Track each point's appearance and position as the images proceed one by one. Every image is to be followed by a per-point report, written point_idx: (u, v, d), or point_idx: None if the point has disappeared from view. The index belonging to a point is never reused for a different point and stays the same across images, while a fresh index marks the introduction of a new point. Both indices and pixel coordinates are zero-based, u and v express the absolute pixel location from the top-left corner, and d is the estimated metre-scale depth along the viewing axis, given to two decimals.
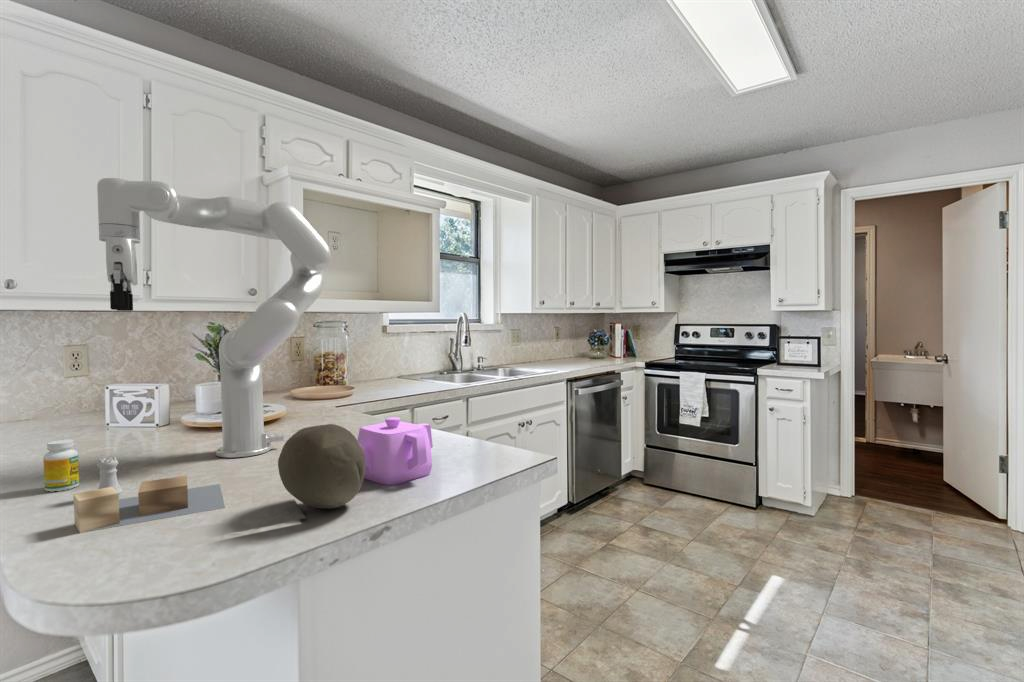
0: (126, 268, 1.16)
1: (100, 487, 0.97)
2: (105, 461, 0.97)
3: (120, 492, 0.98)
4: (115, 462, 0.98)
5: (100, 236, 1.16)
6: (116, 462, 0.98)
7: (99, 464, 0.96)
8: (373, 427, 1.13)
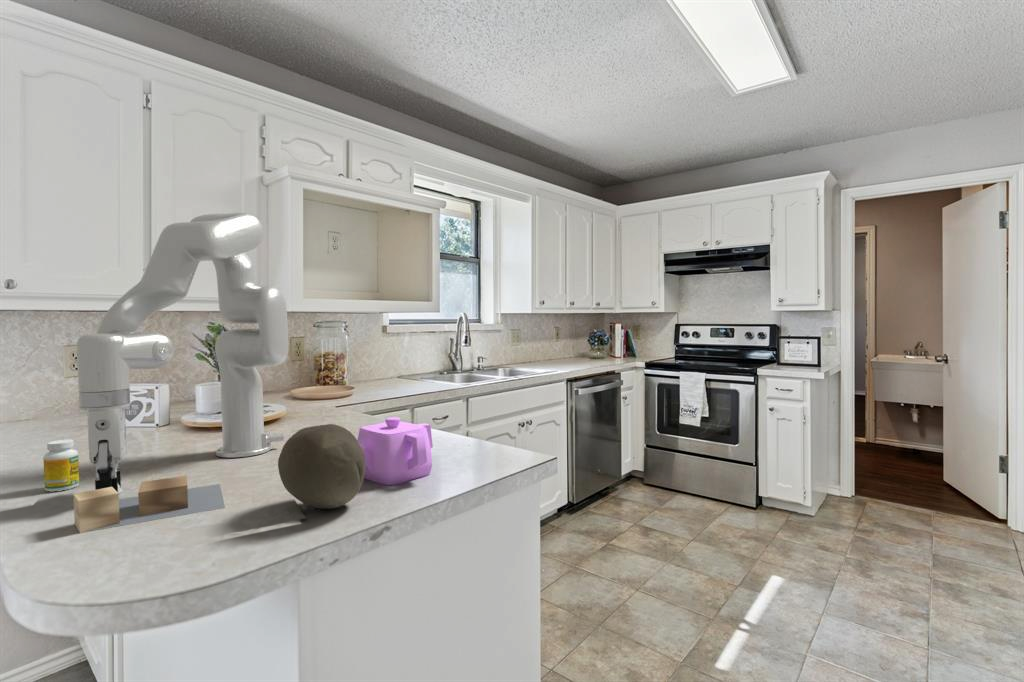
0: (112, 446, 0.94)
1: None
2: None
3: (120, 492, 0.98)
4: None
5: (81, 407, 0.94)
6: (116, 462, 0.98)
7: None
8: (373, 427, 1.13)
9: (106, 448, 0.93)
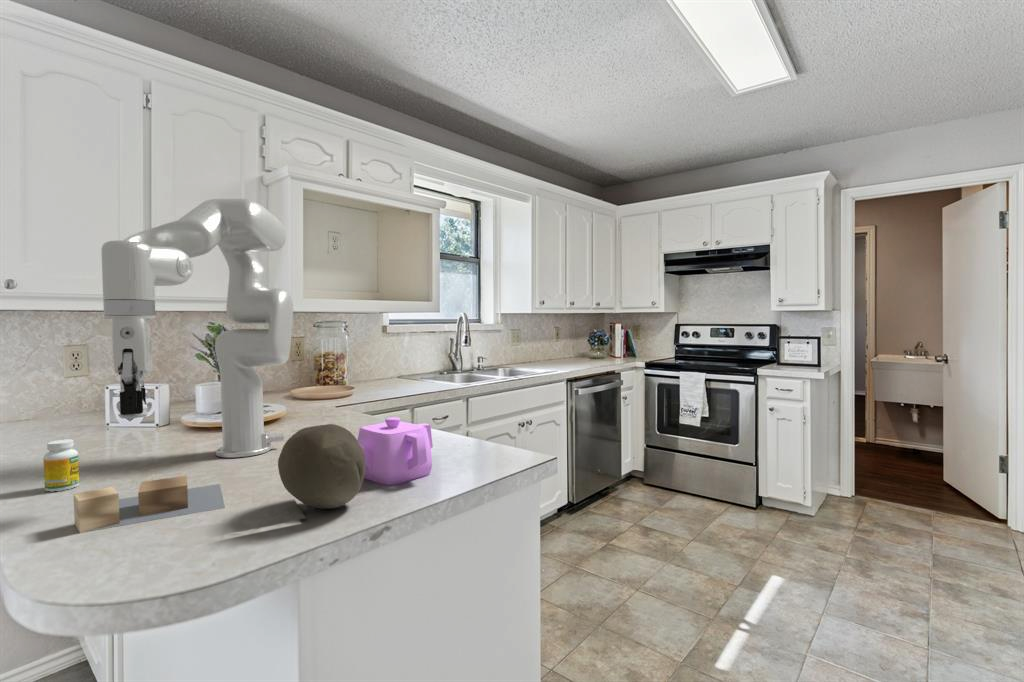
0: (137, 356, 0.90)
1: None
2: None
3: (144, 407, 0.94)
4: None
5: (105, 315, 0.91)
6: (140, 376, 0.94)
7: None
8: (373, 427, 1.13)
9: (131, 357, 0.90)
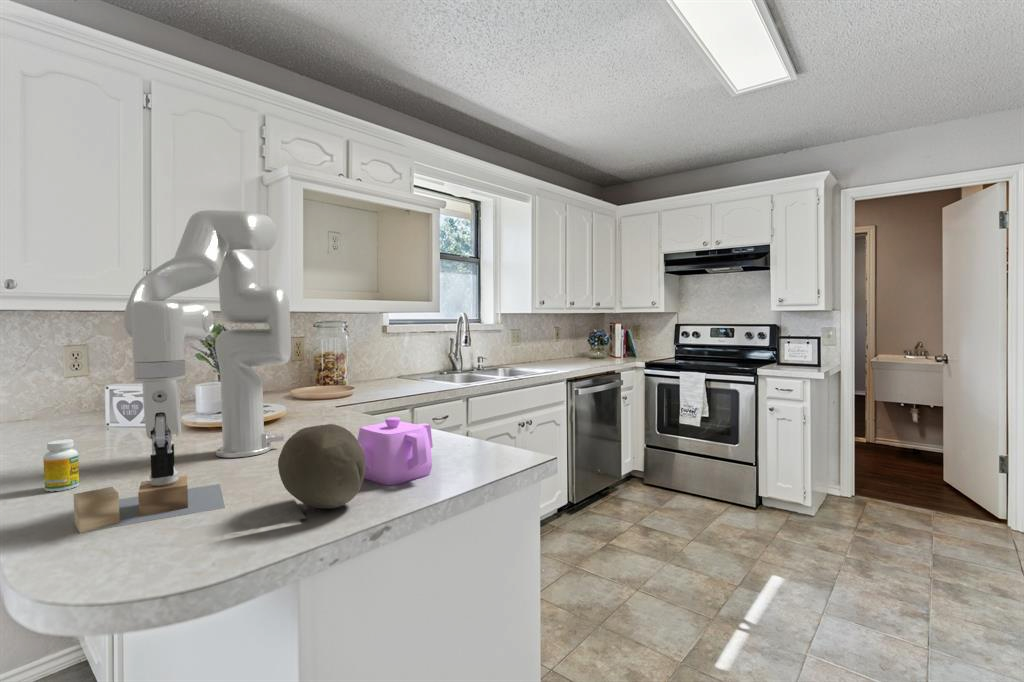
0: (170, 420, 0.89)
1: None
2: None
3: (176, 474, 0.93)
4: None
5: (136, 378, 0.88)
6: (171, 442, 0.93)
7: None
8: (373, 427, 1.13)
9: None
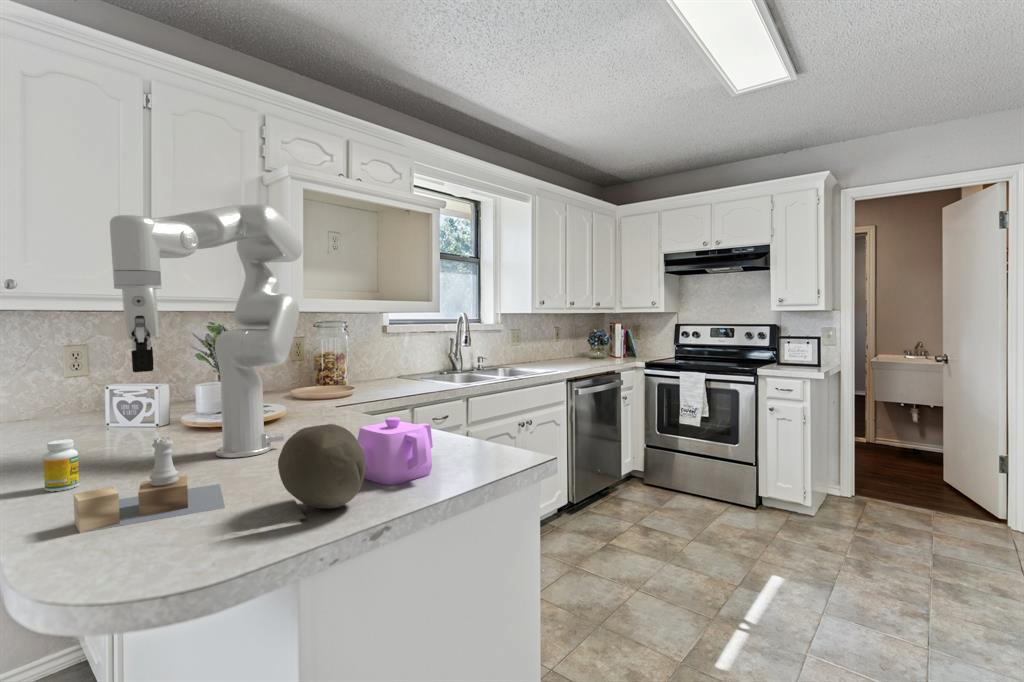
0: (148, 323, 0.98)
1: (155, 468, 0.91)
2: (161, 441, 0.91)
3: (176, 474, 0.93)
4: (170, 442, 0.92)
5: (116, 285, 0.98)
6: (171, 442, 0.93)
7: (154, 444, 0.91)
8: (373, 427, 1.13)
9: None
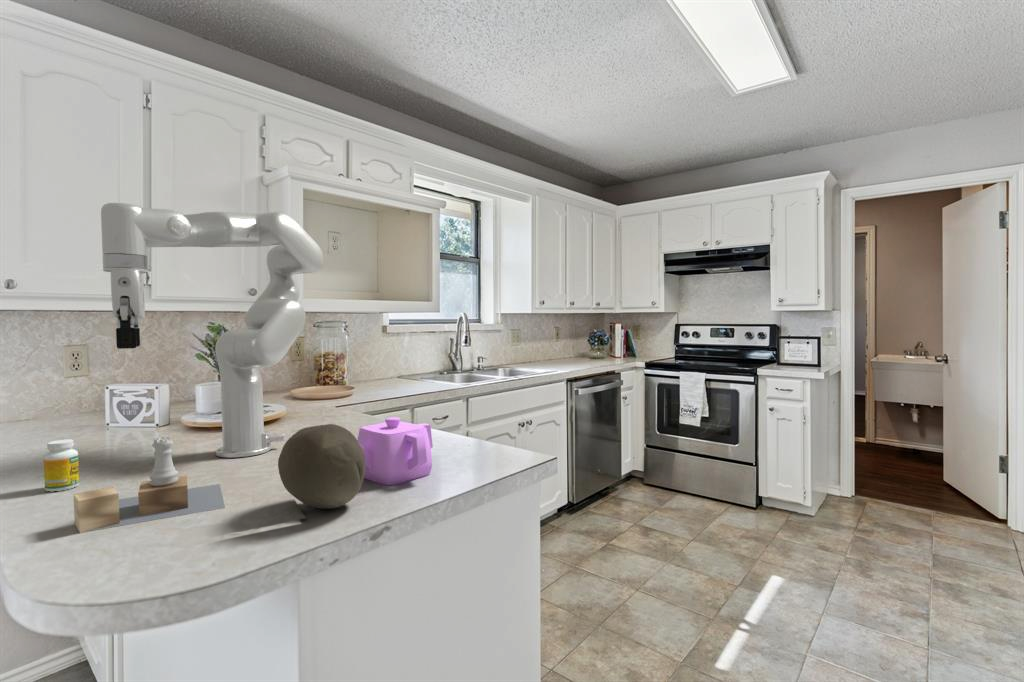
0: (133, 303, 1.05)
1: (155, 468, 0.91)
2: (161, 441, 0.91)
3: (176, 474, 0.93)
4: (170, 442, 0.92)
5: (104, 267, 1.05)
6: (171, 442, 0.93)
7: (154, 444, 0.91)
8: (373, 427, 1.13)
9: (127, 303, 1.04)
